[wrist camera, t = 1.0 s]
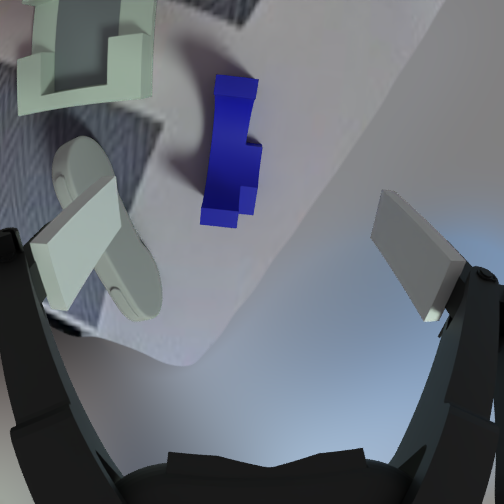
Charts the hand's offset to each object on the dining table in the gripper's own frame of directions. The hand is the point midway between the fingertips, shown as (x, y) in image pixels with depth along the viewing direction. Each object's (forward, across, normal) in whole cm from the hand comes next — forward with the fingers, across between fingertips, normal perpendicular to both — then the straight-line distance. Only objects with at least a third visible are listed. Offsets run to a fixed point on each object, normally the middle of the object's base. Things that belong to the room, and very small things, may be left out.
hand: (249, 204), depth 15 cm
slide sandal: (+16, -12, -8) cm, 21 cm away
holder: (+15, -15, +13) cm, 25 cm away
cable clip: (+16, -1, 0) cm, 16 cm away
